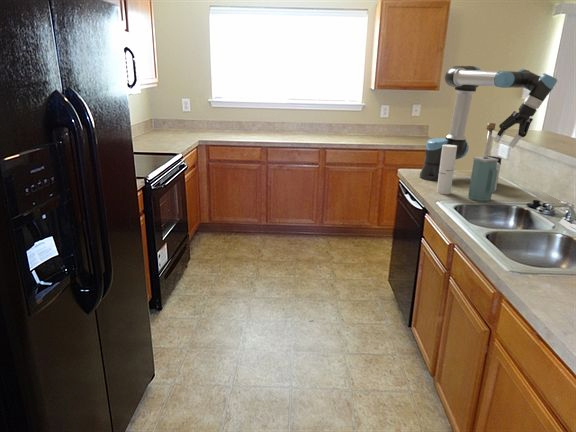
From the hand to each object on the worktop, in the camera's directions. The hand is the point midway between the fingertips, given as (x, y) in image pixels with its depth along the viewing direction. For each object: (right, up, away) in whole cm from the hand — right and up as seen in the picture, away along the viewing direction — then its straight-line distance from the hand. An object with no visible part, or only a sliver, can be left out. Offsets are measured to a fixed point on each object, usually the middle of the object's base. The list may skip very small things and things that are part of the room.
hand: (503, 144), depth 222 cm
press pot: (-12, -28, -1) cm, 31 cm away
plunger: (-12, -16, -4) cm, 20 cm away
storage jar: (+7, -18, +33) cm, 38 cm away
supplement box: (0, -22, +20) cm, 30 cm away
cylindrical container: (-27, -24, +11) cm, 38 cm away
